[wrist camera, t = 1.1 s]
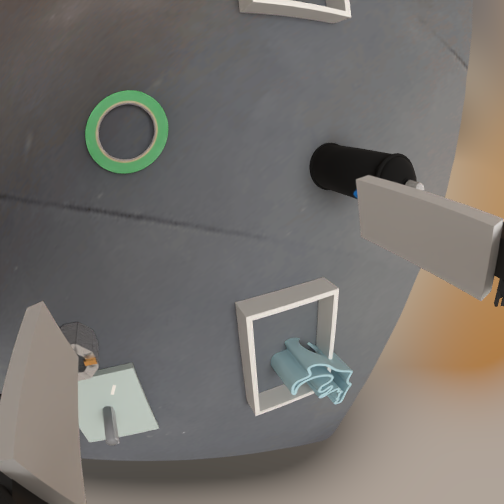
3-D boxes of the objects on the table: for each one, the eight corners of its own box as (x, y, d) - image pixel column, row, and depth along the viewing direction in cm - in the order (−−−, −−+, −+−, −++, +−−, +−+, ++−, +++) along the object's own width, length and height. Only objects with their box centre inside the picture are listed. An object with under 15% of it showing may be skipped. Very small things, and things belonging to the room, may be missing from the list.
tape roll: (71, 136, 36) (68, 137, 34) (127, 76, 36) (128, 73, 34) (127, 187, 42) (127, 190, 40) (181, 129, 42) (185, 129, 40)
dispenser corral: (246, 400, 66) (255, 415, 61) (235, 302, 55) (246, 317, 51) (317, 373, 72) (328, 386, 67) (323, 277, 61) (338, 288, 57)
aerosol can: (310, 141, 50) (402, 156, 33) (349, 143, 53) (440, 160, 36) (308, 190, 53) (395, 224, 36) (346, 188, 56) (433, 219, 39)
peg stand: (89, 437, 53) (92, 472, 45) (52, 378, 46) (48, 417, 38) (157, 423, 59) (167, 458, 51) (132, 362, 52) (139, 400, 43)
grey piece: (66, 360, 46) (64, 386, 41) (51, 327, 44) (46, 352, 38) (102, 352, 49) (104, 378, 43) (89, 319, 46) (88, 343, 40)
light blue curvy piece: (340, 348, 72) (364, 370, 64) (318, 380, 74) (339, 404, 66) (285, 333, 63) (309, 360, 55) (261, 370, 65) (281, 400, 57)
